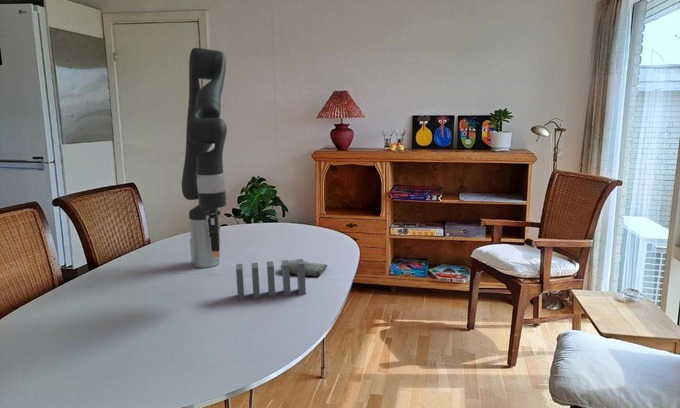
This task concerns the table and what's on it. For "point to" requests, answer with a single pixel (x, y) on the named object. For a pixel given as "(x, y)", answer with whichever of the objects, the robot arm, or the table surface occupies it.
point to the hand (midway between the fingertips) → (216, 248)
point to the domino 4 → (271, 279)
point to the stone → (307, 268)
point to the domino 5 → (286, 278)
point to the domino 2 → (240, 281)
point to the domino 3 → (255, 281)
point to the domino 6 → (301, 276)
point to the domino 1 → (216, 253)
